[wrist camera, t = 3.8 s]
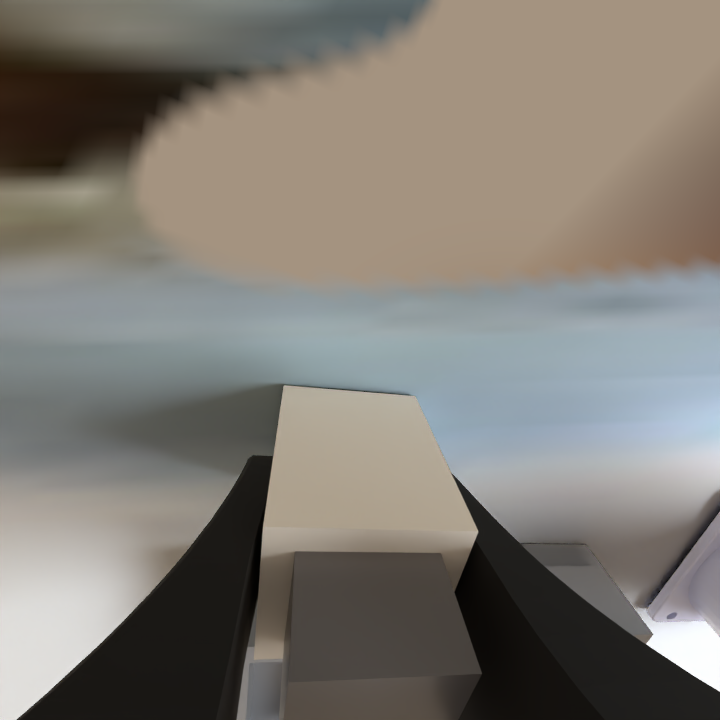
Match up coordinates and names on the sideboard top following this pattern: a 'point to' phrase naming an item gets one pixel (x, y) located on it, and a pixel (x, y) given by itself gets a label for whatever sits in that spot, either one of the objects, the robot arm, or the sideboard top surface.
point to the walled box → (561, 559)
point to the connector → (363, 562)
